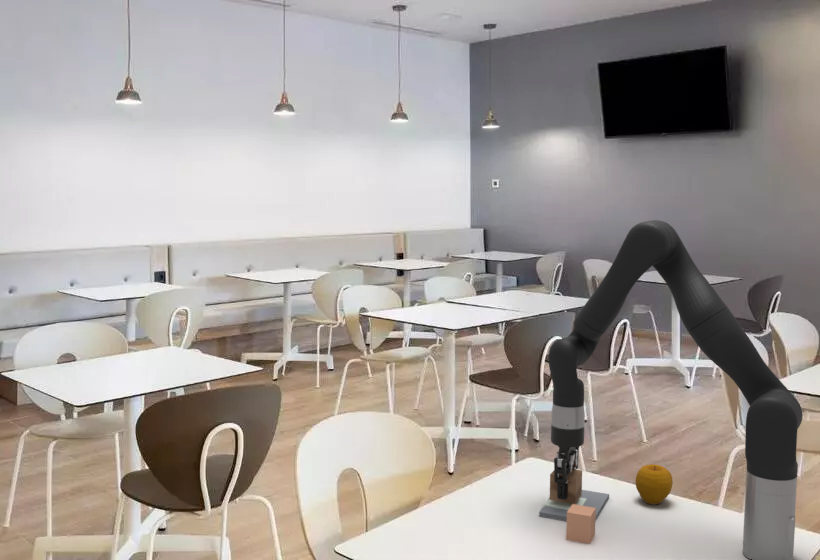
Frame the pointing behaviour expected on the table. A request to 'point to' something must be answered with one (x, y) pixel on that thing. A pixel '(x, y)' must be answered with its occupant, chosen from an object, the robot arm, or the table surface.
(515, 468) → the table surface
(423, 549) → the table surface
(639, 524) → the table surface
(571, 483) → the walnut block
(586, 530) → the terracotta block
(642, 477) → the apple
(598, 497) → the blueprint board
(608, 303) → the robot arm
